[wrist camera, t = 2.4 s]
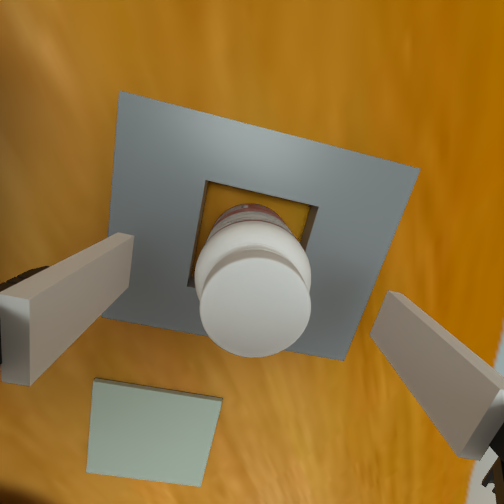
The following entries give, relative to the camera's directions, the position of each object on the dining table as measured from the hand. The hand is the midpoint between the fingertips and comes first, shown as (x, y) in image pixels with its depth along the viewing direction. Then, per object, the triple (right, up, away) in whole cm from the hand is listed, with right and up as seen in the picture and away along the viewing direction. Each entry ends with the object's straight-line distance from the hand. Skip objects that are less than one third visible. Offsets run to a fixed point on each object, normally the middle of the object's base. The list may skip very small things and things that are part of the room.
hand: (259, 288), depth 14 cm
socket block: (-1, +3, +8) cm, 8 cm away
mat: (-10, -17, +14) cm, 24 cm away
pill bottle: (-1, +3, +8) cm, 9 cm away
